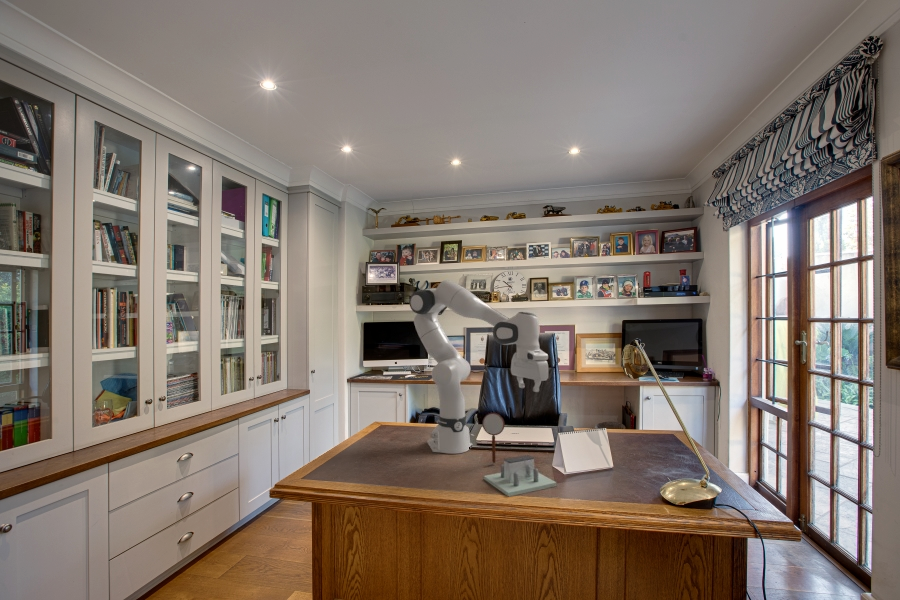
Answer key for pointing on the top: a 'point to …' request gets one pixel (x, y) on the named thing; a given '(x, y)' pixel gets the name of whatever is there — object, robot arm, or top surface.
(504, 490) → the pin tray
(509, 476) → the block
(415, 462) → the top surface
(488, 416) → the magnifying glass
